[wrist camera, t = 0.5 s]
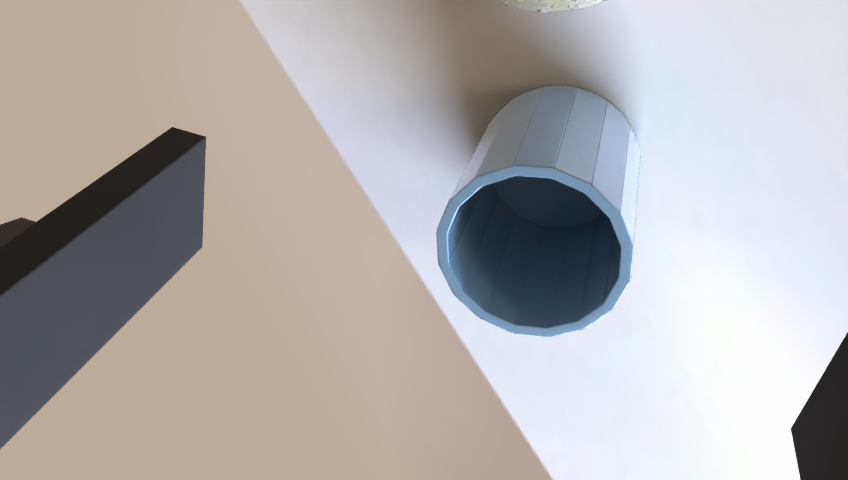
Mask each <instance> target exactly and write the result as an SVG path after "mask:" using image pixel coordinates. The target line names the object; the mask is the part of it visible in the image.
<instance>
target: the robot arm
mask: <svg viewBox="0 0 848 480" xmlns="http://www.w3.org/2000/svg"><path fill="white" fill-rule="evenodd" d="M205 149H206V137H205V136H201V135H198V134H194V133H191V132H187V131H184V130H180V129H176V128H173V127H172V128H170V129H169V130H167V131H166V132H165V133H163V134H162V135H161V136H159V137H157V138H156V139H155V140H153V141H152V142H150V143H149V144H147V145H146V146H145V147H143V148H142V149H140V150H139V151H137V152H136V153H134V154H133V155H132V156H130V157H129V158H127V159H126V160H125V161H123V162H122V163H120V164H119V165H117V166H116V167H115V168H113V169H112V170H110V171H109V172H107V173H106V174H105V175H103V176H102V177H100V178H99V179H97V180H96V181H95V182H93V183H92V184H90V185H89V186H88V187H86V188H84V189H83V190H82V191H80V192H79V193H77V194H76V195H74V196H73V197H72V198H70V199H69V200H67V201H66V202H64V203H63V204H62V205H60V206H59V207H57V208H56V209H54V210H53V211H52V212H50V213H49V214H47V215H46V216H44V217H43V218H42V219H40V220H39V221H37V222H34V221H31V220H28V219H25V218H19V219H16V220H13V221H10V222H7V223H4V224H1V225H0V448H2V447H3V446H4V445H5V444H6V443H7V442H8V441H9V440H10V439H11V438H12V437H13V436H14V435H15V434H16V433H17V432H18V431H19V430H20V429H21V428H22V427H23V426H24V425H25V424H26V423H27V422H28V421H29V420H30V419H31V418H32V416H34V415H35V414H36V413H37V412H38V411H39V410H40V409H41V408H42V407H43V405H45V404H46V403H47V402H48V401H49V400H50V399H51V398H52V397H53V396H54V395H55V394H56V393H57V392H58V391H59V390H60V389H61V388H62V387H63V386H64V385H65V384H66V383H67V381H69V380H70V379H71V378H72V377H73V376H74V375H75V374H76V373H77V372H78V370H80V369H81V368H82V367H83V366H84V365H85V364H86V363H87V362H88V361H89V360H90V359H91V358H92V357H93V356H94V355H95V354H96V353H97V352H98V351H99V350H100V349H101V348H102V347H103V346H104V345H105V344H106V342H108V341H109V340H110V339H111V338H112V337H113V336H114V335H115V334H116V333H117V332H118V331H119V330H120V329H121V327H123V326H124V325H125V324H126V323H127V321H129V320H130V319H131V318H132V317H133V316H134V315H135V314H136V313H137V312H138V311H139V310H140V309H141V308H142V307H143V306H144V305H145V304H146V303H147V302H148V301H149V300H150V298H152V297H153V296H154V295H155V294H156V293H157V292H158V291H159V290H160V289H161V288H162V287H163V286H164V285H165V284H166V283H167V282H168V280H170V279H171V278H172V277H173V276H174V275H175V274H176V273H177V272H178V271H179V270H180V268H182V266H183V265H185V263H187V262H188V260H190V259H191V257H193V256H194V255H195V254H196V253H197V251H199V250H200V249H201V248H202V237H203V208H204V177H205ZM791 431H792V436H793V441H794V447H795V452H796V457H797V463H798V468H799V473H800V479H801V480H848V333H847V334H846V336H845V338H844V340H843V341H842V343H841V345H840V346H839V348H838V350H837V351H836V353H835V355H834V357H833V358H832V360H831V362H830V363H829V365H828V367H827V368H826V370H825V372H824V374H823V375H822V377H821V379H820V380H819V382H818V384H817V385H816V387H815V389H814V390H813V392H812V394H811V396H810V397H809V399H808V401H807V402H806V404H805V406H804V407H803V409H802V411H801V413H800V414H799V416H798V418H797V419H796V421H795V423H794V424H793V426H792V428H791Z"/></svg>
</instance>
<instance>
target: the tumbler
mask: <svg viewBox="0 0 848 480" xmlns="http://www.w3.org/2000/svg"><path fill="white" fill-rule="evenodd" d="M640 157H641V156H640V152H639V146H638V143H637V139H636V136H635V134H634V132H633V129H632V127H631V126H630V124H629V123H628V121H627V119H626V118H625V117H624V116H623V114H622V113H621V112H620V111H619V110H618V109H617V108H616V107H615V106H614V105H612V104H611V103H610V102H608V101H607V100H605V99H604V98H602V97H601V96H599V95H597V94H595V93H593V92H590V91H587V90H584V89H581V88H576V87H571V86H546V87H540V88H537V89H533V90H530V91H527V92H525V93H523V94H521V95H519V96H517V97H516V98H514V99H512V100H511V101H510V102H508V103H507V104H506V105H505V106H504V107H503V108H502V109H501V110H500V111H499V112H498V113H497V114H496V116H495V117H494V118H493V119H492V120H491V121H490V123H489V125H488V127H487V129H486V131H485V133H484V134H483V136H482V138H481V140H480V142H479V144H478V146H477V148H476V150H475V152H474V154H473V156H472V157H471V159H470V161H469V163H468V165H467V167H466V169H465V171H464V173H463V175H462V177H461V179H460V180H459V182H458V184H457V186H456V188H455V190H454V192H453V194H452V196H451V198H450V200H449V202H448V204H447V206H446V209H445V211H444V214H443V216H442V218H441V221H440V223H439V225H438V228H437V232H436V235H437V254H438V263H439V267H440V269H441V271H442V273H443V275H444V277H445V279H446V281H447V283H448V285H449V287H450V289H451V291H452V293H453V294H454V295H455V296H456V297H457V298H458V299H459V300H460V301H461V302H462V303H463V304H464V305H466V306H467V307H468V308H469V309H470V310H471V311H472V312H473V313H474V314H475V315H476V316H477V317H480V319H482V320H484V321H487V322H489V323H491V324H493V325H496V326H498V327H500V328H502V329H505V330H507V331H509V332H511V333H512V332H513V333H516V334H525V335H535V336H544V337H551V336H556V335H560V334H565V333H569V332H574V331H578V330H582V329H585V328H586V327H588V326H589V325H591V324H592V323H594V322H595V321H597V320H598V319H600V318H601V317H603V316H604V315H606V314H607V313H609V312H610V311H612V310H613V309H614V307H615V306H616V304H617V302H618V301H619V299H620V298H621V296H622V294H623V293H624V291H625V289H626V288H627V286H628V284H629V283H630V280H631V274H632V262H633V250H634V237H635V223H636V210H637V197H638V184H639V171H640Z"/></svg>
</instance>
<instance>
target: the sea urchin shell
mask: <svg viewBox="0 0 848 480" xmlns="http://www.w3.org/2000/svg"><path fill="white" fill-rule="evenodd" d="M500 1H501V2H503V3H505V4H506V6H508V5H509V6H513V7H516V8H522V9H527V10H532V11H539V12H540V13H541V14H542V13H545V12H547V13H550V12H552V11H555V12H558V11H560V10H569V9H570V10H573V11H574V10H576V9H581V10H582V9H583V8H584V7H588V6H591V5H593V4H596V3H598V2H601V1H605V0H500Z"/></svg>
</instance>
